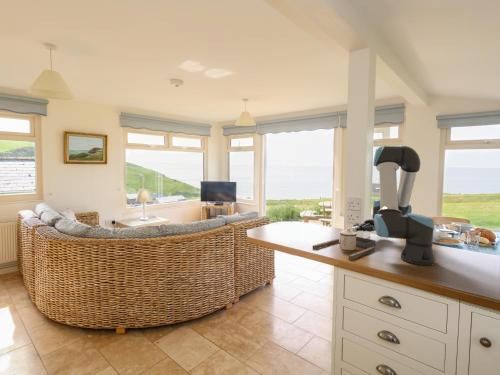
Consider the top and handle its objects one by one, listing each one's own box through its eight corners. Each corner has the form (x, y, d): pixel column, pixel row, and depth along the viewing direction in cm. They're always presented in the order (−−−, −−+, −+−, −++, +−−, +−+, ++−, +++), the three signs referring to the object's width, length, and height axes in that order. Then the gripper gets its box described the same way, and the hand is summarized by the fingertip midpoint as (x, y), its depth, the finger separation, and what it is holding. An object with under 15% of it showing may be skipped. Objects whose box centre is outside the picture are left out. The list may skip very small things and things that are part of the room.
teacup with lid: (343, 244, 168) (344, 225, 167) (358, 248, 162) (359, 228, 161) (334, 249, 160) (334, 229, 159) (349, 252, 154) (350, 231, 152)
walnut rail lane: (374, 251, 158) (374, 247, 158) (351, 260, 141) (351, 256, 141) (336, 241, 176) (336, 238, 175) (312, 249, 159) (312, 245, 159)
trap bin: (375, 245, 170) (375, 240, 169) (366, 248, 162) (367, 243, 162) (353, 240, 180) (354, 235, 180) (344, 243, 173) (344, 238, 172)
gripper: (381, 232, 175) (362, 238, 160) (361, 229, 185) (341, 233, 170) (382, 220, 175) (363, 225, 159) (361, 217, 185) (342, 221, 169)
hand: (352, 229), depth 164 cm, fingers closed
